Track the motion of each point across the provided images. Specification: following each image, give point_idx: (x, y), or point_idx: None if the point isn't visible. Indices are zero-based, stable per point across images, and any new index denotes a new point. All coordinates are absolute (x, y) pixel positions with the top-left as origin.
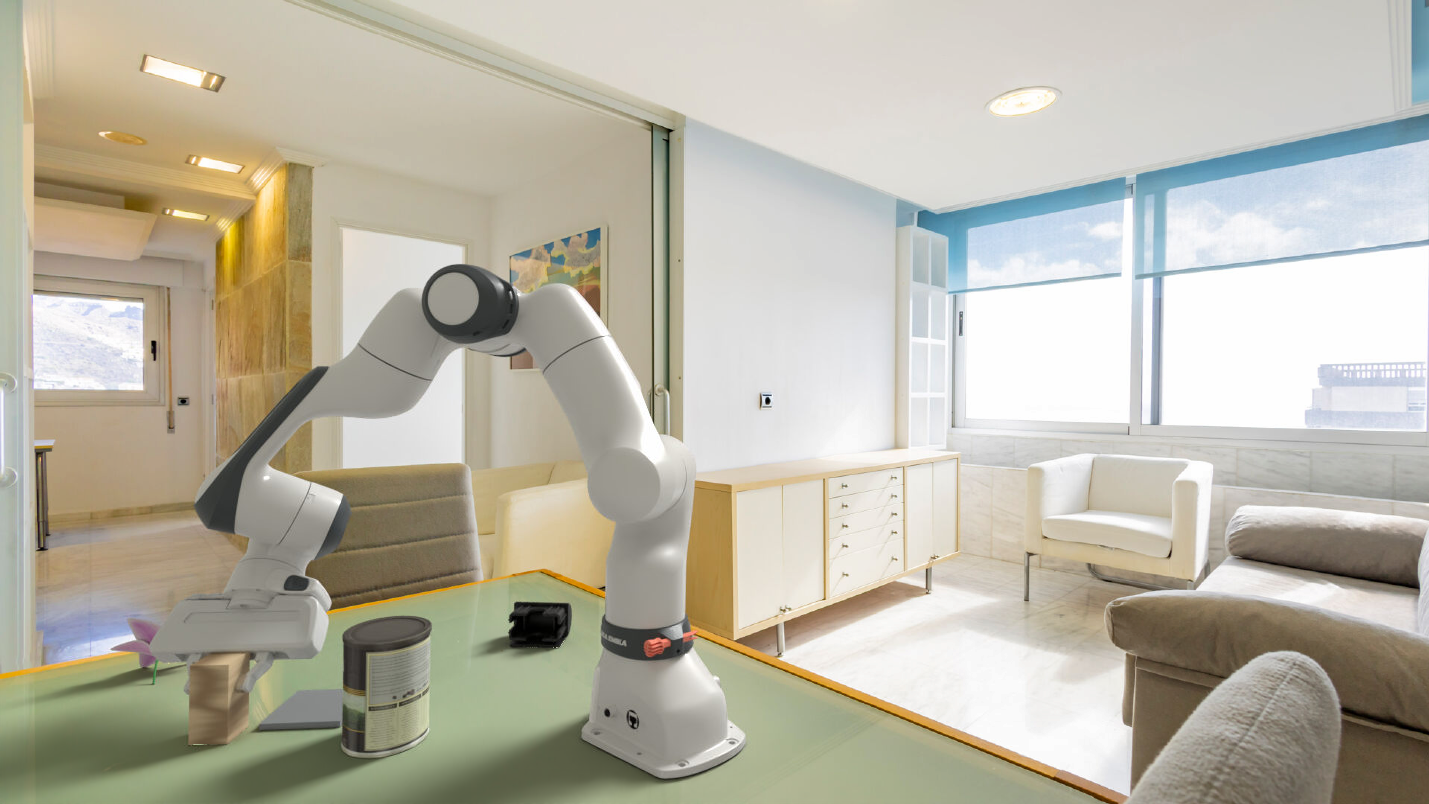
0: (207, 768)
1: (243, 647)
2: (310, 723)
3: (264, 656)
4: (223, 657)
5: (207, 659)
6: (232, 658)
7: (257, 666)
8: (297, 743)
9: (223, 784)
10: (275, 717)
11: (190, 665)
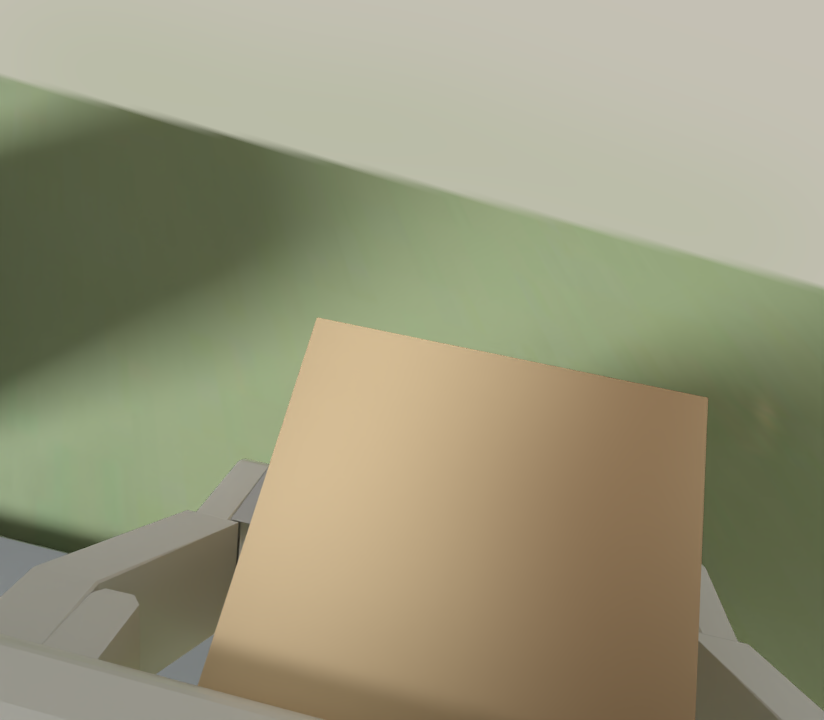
0: (385, 305)
1: (224, 712)
2: (19, 541)
3: (18, 606)
4: (447, 580)
5: (609, 551)
6: (329, 504)
7: (125, 541)
8: (88, 406)
9: (300, 191)
10: (186, 663)
11: (704, 402)
